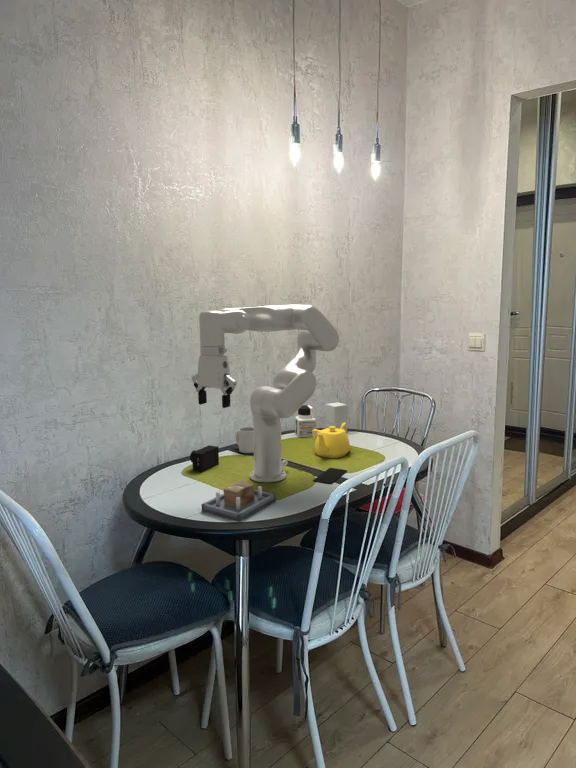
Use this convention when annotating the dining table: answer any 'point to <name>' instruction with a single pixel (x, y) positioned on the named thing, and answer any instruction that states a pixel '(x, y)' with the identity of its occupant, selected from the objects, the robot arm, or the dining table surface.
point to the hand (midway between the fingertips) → (214, 405)
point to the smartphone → (330, 476)
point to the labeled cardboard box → (239, 494)
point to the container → (305, 421)
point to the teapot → (331, 442)
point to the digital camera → (205, 458)
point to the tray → (238, 505)
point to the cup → (245, 440)
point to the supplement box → (336, 415)
